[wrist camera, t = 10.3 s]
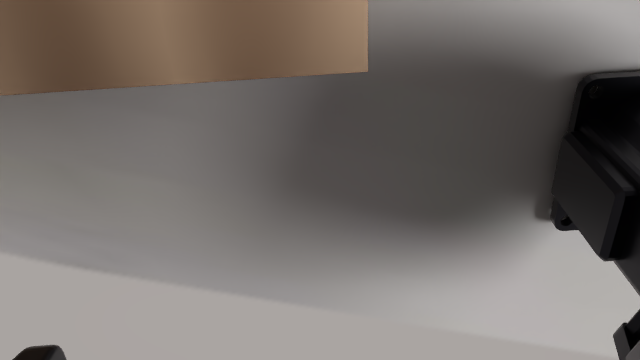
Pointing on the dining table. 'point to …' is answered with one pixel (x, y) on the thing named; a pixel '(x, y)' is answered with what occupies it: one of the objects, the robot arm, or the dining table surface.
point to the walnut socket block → (175, 42)
